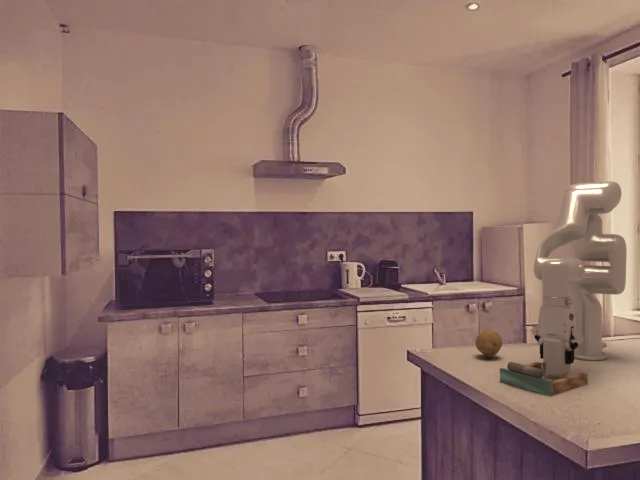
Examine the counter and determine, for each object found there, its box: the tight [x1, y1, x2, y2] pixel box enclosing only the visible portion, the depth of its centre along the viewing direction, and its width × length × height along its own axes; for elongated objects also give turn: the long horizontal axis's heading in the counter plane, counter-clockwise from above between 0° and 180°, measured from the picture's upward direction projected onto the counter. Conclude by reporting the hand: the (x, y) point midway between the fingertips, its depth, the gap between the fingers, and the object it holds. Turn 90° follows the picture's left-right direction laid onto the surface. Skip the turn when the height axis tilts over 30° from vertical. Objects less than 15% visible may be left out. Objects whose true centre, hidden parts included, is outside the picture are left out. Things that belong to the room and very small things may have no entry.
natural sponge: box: [475, 328, 503, 359], centre depth 182 cm, size 9×9×10 cm
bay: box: [499, 361, 589, 397], centre depth 152 cm, size 19×16×9 cm
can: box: [542, 334, 572, 377], centre depth 156 cm, size 8×8×12 cm
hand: (556, 360), depth 156 cm, fingers closed on can, 7 cm apart
